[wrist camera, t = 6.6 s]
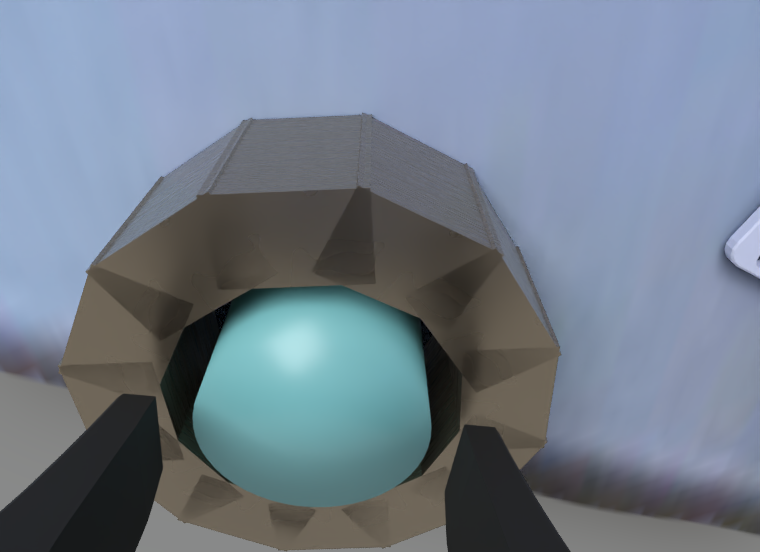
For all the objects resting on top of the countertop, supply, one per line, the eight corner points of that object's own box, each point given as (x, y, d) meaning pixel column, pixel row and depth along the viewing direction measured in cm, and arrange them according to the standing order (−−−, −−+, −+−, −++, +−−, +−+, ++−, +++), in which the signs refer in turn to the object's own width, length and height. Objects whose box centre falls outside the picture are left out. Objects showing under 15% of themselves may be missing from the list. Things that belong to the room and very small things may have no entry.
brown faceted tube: (596, 229, 15) (661, 327, 11) (402, 468, 19) (407, 587, 16) (207, 30, 12) (142, 79, 9) (95, 362, 17) (24, 476, 13)
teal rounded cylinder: (449, 259, 15) (476, 392, 11) (370, 381, 18) (367, 529, 14) (279, 185, 14) (239, 302, 10) (218, 325, 17) (164, 468, 12)
